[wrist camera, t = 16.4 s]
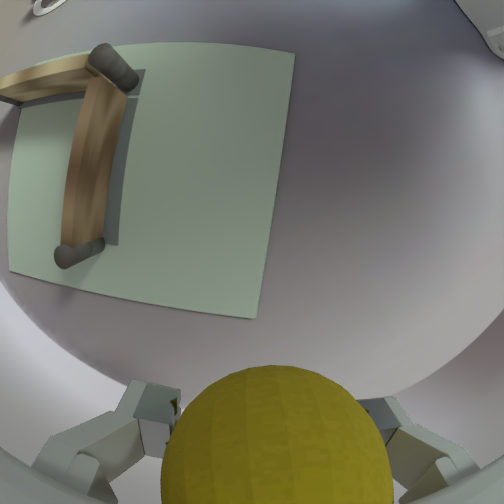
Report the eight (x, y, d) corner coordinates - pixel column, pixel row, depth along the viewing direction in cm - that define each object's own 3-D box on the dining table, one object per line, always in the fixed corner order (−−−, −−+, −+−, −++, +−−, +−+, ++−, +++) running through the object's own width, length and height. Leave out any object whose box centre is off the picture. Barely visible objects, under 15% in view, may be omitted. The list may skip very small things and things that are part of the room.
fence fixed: (141, 72, 18) (115, 41, 12) (136, 91, 18) (107, 64, 12) (19, 91, 17) (-16, 79, 11) (14, 107, 17) (-21, 97, 11)
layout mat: (294, 55, 18) (295, 53, 18) (255, 316, 23) (255, 319, 22) (34, 65, 16) (32, 64, 16) (9, 268, 21) (6, 270, 20)
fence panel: (114, 97, 18) (84, 75, 13) (131, 97, 18) (103, 74, 13) (88, 251, 20) (53, 266, 15) (104, 254, 20) (71, 271, 15)
